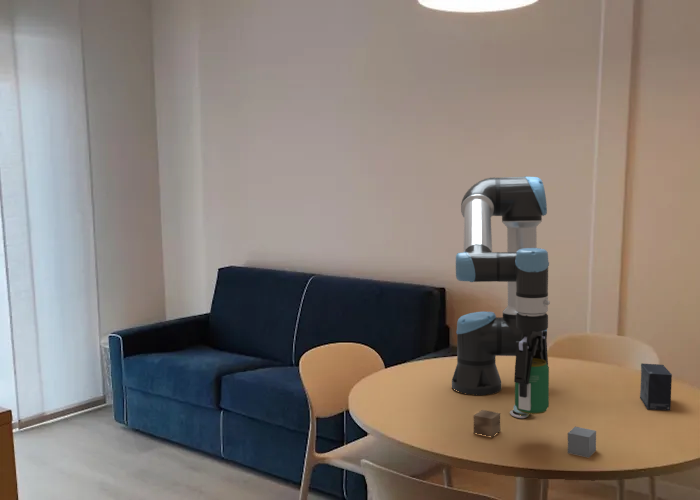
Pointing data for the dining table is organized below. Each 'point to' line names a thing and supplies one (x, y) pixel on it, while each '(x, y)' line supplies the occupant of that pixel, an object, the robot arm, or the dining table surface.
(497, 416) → the walnut block
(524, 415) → the pacifier
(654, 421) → the dining table surface
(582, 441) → the slate block
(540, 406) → the beverage can
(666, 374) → the small box
